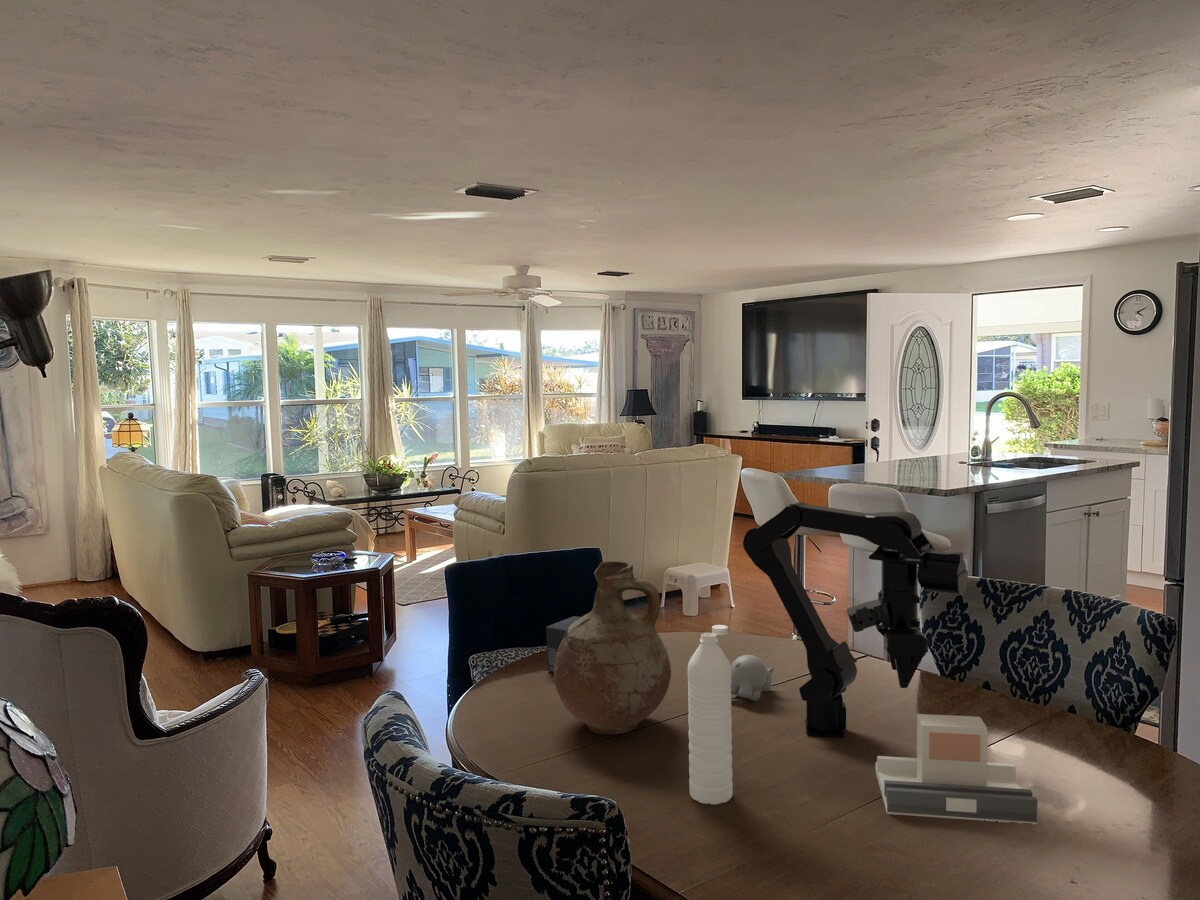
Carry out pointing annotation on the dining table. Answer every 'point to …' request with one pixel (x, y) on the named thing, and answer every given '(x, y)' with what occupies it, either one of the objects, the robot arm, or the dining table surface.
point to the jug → (613, 657)
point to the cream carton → (951, 750)
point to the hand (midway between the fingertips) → (899, 678)
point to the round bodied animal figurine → (750, 677)
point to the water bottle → (710, 721)
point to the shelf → (955, 794)
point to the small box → (556, 639)
